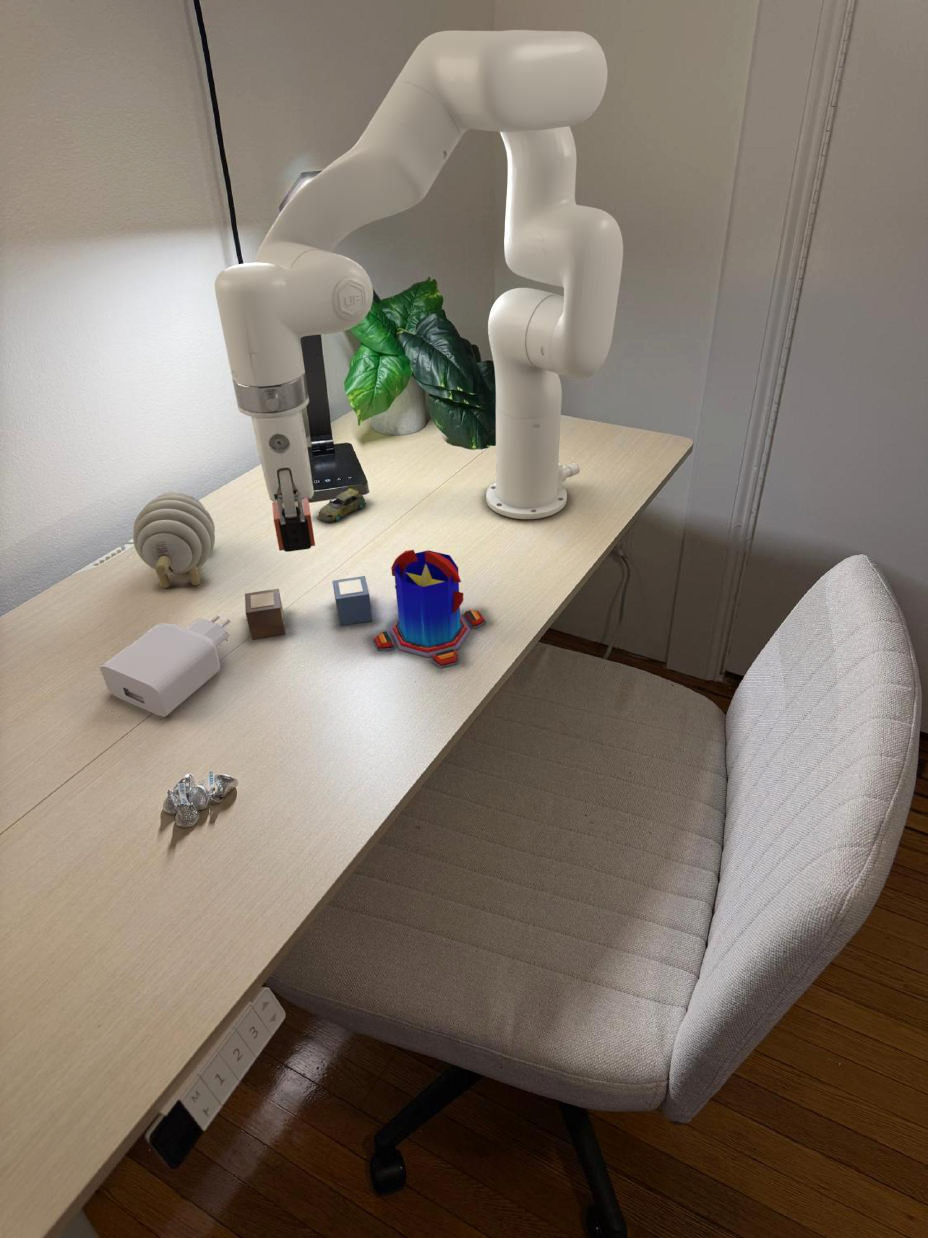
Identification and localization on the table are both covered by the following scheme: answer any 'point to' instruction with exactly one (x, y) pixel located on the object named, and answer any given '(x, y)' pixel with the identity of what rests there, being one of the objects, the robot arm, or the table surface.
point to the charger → (165, 665)
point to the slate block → (352, 600)
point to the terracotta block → (306, 514)
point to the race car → (341, 505)
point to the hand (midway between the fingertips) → (296, 536)
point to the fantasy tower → (428, 608)
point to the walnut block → (264, 614)
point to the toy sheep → (174, 536)
